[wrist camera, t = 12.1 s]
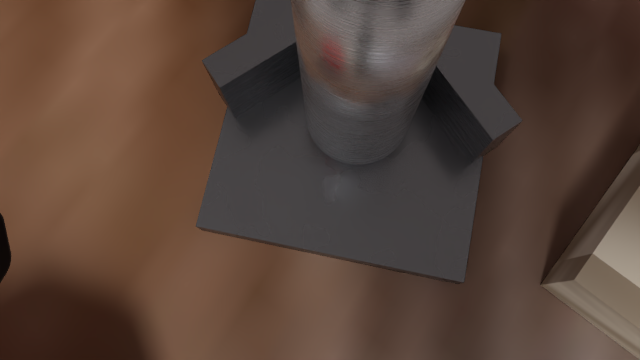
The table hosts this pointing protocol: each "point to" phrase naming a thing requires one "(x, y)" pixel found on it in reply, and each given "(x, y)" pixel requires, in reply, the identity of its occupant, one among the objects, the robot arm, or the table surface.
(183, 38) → the table surface
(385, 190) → the V-block
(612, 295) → the block with rectangular hole
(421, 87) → the axle
